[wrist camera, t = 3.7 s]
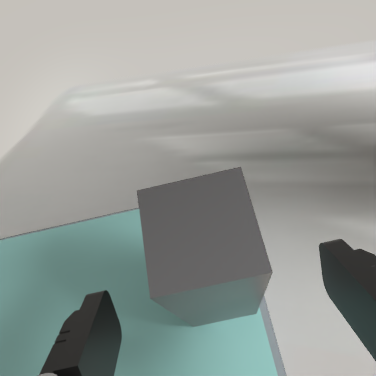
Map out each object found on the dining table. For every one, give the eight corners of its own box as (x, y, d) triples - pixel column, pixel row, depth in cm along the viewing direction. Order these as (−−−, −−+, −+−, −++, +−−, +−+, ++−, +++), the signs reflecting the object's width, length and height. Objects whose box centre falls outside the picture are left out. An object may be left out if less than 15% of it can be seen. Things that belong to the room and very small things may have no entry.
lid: (228, 198, 23) (219, 73, 13) (282, 401, 17) (341, 462, 7) (6, 247, 24) (-168, 166, 13) (-11, 459, 18) (-331, 590, 8)
